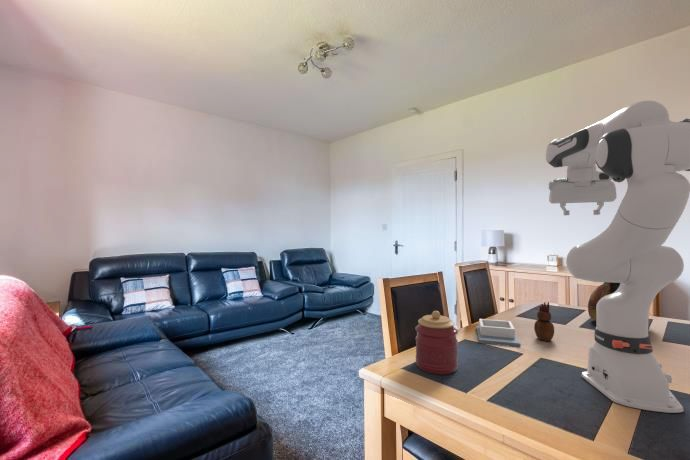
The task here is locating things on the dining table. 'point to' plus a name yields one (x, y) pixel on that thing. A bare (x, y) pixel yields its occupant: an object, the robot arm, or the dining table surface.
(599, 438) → the dining table surface
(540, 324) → the wooden figurine
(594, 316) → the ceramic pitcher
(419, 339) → the canister
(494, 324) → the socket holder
